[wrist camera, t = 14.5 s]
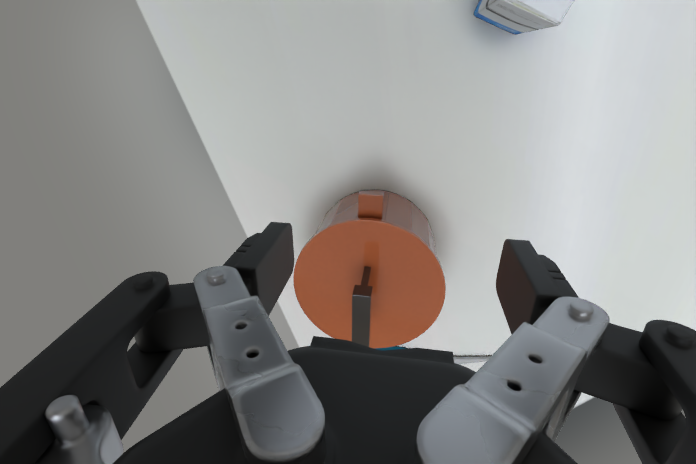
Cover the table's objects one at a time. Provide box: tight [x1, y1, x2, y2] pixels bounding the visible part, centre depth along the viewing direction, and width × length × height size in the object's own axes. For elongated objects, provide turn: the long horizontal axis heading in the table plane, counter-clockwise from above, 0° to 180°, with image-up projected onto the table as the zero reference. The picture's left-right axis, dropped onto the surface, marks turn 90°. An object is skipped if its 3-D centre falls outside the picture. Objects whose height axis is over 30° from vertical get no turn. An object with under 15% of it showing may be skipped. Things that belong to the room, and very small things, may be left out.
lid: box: [294, 218, 446, 348], centre depth 37 cm, size 16×16×6 cm
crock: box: [316, 190, 436, 349], centre depth 44 cm, size 15×20×10 cm
